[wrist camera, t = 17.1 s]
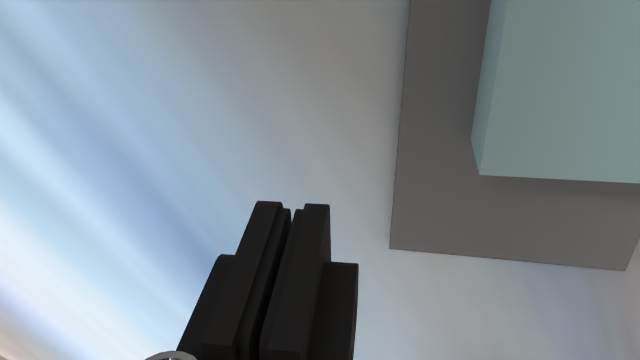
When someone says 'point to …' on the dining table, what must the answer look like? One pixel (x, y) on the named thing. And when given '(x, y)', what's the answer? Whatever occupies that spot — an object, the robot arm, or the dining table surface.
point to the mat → (485, 190)
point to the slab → (560, 91)
